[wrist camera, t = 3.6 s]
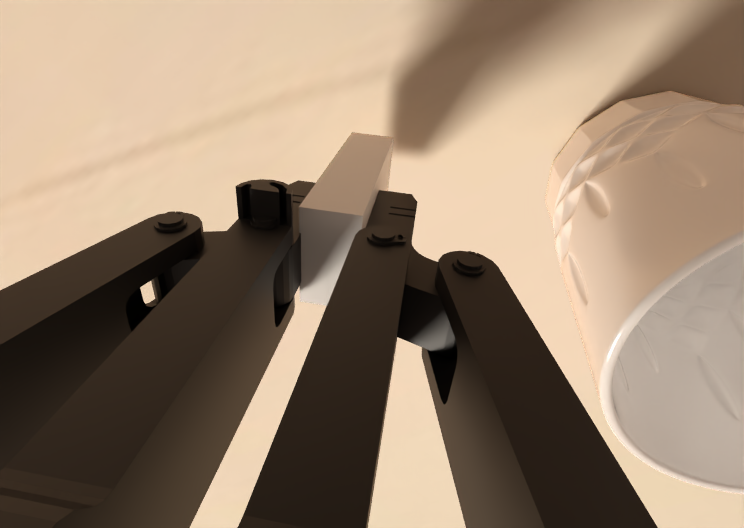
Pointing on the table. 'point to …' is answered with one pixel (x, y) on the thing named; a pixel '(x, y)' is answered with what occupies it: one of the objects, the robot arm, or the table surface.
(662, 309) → the white cup
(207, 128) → the table surface
